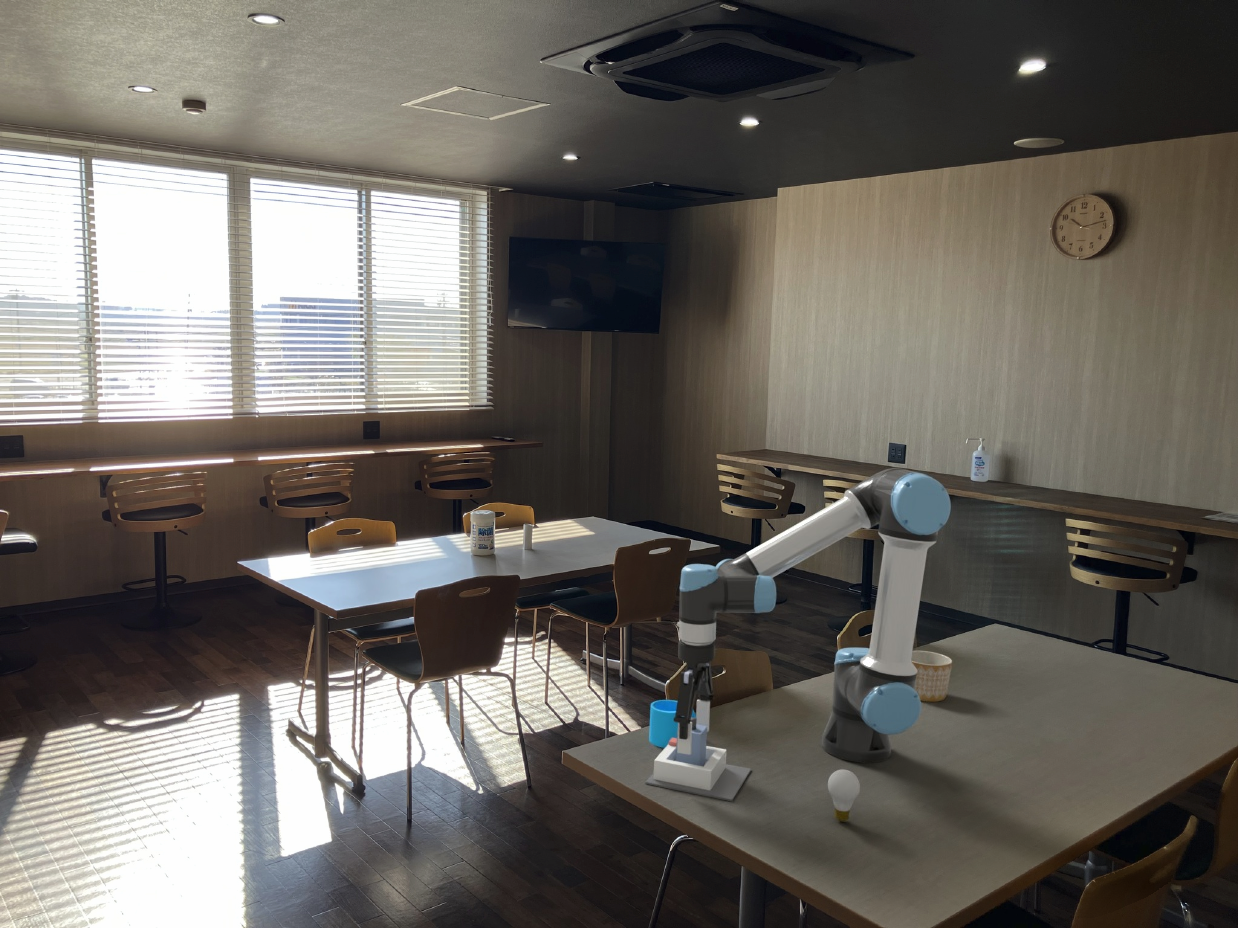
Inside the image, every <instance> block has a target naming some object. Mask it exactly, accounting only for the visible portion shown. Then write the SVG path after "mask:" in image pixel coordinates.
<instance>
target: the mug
mask: <svg viewBox="0 0 1238 928" xmlns="http://www.w3.org/2000/svg"><path fill="white" fill-rule="evenodd" d="M677 701H678V700H672V699H662V700H661V699H659V700H656V701H653V702H651V703H650V710H649V711H650V712H649V713H650V714H649V717H650V718H649V735H648V737H649V738H648V741H649V743H650V744H651V745H653V746H655V747H659V748H663V749H665V748H666V746H667V745H668V744H669V741H670V740H671V738H677V730H678V722H674V718H675V714H676V707H677ZM682 717H684V716H682ZM691 717H693V718H696V712H695V711H694V709H693V712H692V716H691Z"/></svg>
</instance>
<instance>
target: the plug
mask: <svg viewBox="0 0 1238 928" xmlns="http://www.w3.org/2000/svg"><path fill="white" fill-rule="evenodd" d="M691 722H692V743H691V754H690V755H688V754H682V753H677V747H676V761H677V762H682V763H688V764H693V765H698V766H704V764H705V758H706V746H707V737H708V736H707V735H708V732H707V726H704V725H698V724H696V722H697V719H696V718H693V717H691ZM677 743H678V730H677Z"/></svg>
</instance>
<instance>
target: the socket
mask: <svg viewBox="0 0 1238 928" xmlns="http://www.w3.org/2000/svg"><path fill="white" fill-rule="evenodd" d="M676 747H677V738H671V740H670V741H669V744H668V745H667V746H666V748H663V750H662V751H661V752H660V753H659V754H658V755H657V757H656V758H655V759H654V761H653V772H652V774H651V775H650V776H649V777H648V778H647V779H646V781H645V783H644V784H645V785H649V786H653V787H654V786H655V787H660V788H664V789H670V790H673V791H679V792H684V793H688V794H689V793H690V794H695V795H699V796H703V797H707V798H713V799H718V800H722V801H723V800H724V801H728V802H733V801H734V799H735V797H736V796H737V794H738V792H739V791H740V790H741V788H742V785H743V784H744V783H745V781H746V779H747V778H748V777H749V775H750V773H751V770H752V769H751V768H749V767H744V766H739V765H738V766H737V765H733V764H727V749H726V748H720V747H714V746H708V745H706V758H705V764H704V766H698V765H693V764H688V763H682V762H677V761H676Z"/></svg>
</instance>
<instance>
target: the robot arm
mask: <svg viewBox="0 0 1238 928" xmlns="http://www.w3.org/2000/svg"><path fill="white" fill-rule="evenodd" d="M951 507H952V504H951V499H950V496H949V492H948V491H947V489H946V488H945V486H944V485H943V484H942V483H941V482H939V481H938V480H936V479H935V478H933V477H932V476H929V475H928V474H926V473H921V472H917V471H913V470H912V471H911V470H909V469H906V468H903V467H902V468H900V467H892V468H887V469H884V470H882V471H879V472H877V473H874V474H873V475H871V476H870V477H867V478H866V479H864V480H862V481H861V482H859V483H857V484H855V485H854V486H852V487H850V488H848V489H847V490H845V491H844V494H843V496H842V497H841V498H840V499H838V500H836V501H834V502H833V503H832V504H829V505H828V506H826V507H824V508H823V509H821V510H819V511H817V512H816V513H814V514H812V515H811V516H809V517H806V518H804V520H802V521H800V522H797V524H795V525H793V526H791V527H789V528H788V529H786V530H784V531H782V532H781V533H779V534H777V535H775V536H773V537H772V538H770V539H768V540H766V541H765V542H763V543H761V544H759V545H758V546H756V547H754V548H753V549H751V550H749V551H747V552H746V553H743V554H742V555H740V556H738V557H736V558H734V559H733V558H726V559H723V560H721V561H720V562H718V563H717V564H716V566H714V565H711V564H703V563H702V564H701V563H691V564H688V565H685V566H684V567H682V569H681V572H680V573H681V574H680V584H679V588H678V589H679V616H678V617H679V621H677V622H676V627H679V628H678V639H679V641H678V645H677V648H678V649H677V650H678V651H677V656H678V659H679V660H680V661H682V662H684V663H685V664H686V666H685V668H684V671H681V672H680V675H679V676H680V681H679V689H678V695H677V700H676V701H677V707H676V714H675V718H674V722H678V743H677V753H682V754H688V755H690V754H691V743H692V722H691V716H692V712H693V710H694V706H695V702H696V712H695V714H696V719H697V722H696V724H698V725H704V726H707V733H709V732H710V717H711V716H710V714H711V713H710V710H711V709H710V708H711V701H714V700H715V694H714V688H713V687H714V685H713V676H712V668H711V667H712V666H711V663H712V662H713V661H714V660H715V658H716V654H715V653H716V643H715V640H716V639H717V638H716V637H717V636H716V635H717V633H716V632H717V630H716V629H717V613H743V614H744V613H747V614H748V613H749V614H751V613H754V614H760V613H761V614H762V613H770V612H772V611H773V610H774V609H775V607H776V602H777V585H776V582H775V580H774V577H776V576H778V575H779V574H782V573H784V572H785V571H786V570H787V571H788V570H789V569H790V568H792V567H794V566H796V565H798V564H799V563H801V562H802V561H805V560H807V559H808V558H810V557H812V556H813V555H815V554H817V553H819V552H822V550H824V549H826V548H829V546H832V545H833V544H835V543H836V542H838V541H840V540H842V539H844V538H845V537H847V536H850V535H851V534H853V533H854V532H856V531H858V530H859V529H861V528H862V529H863V528H864V529H865V530H866V529H867V530H869V529H871V528H873V527H875V526H877V525H878V535H879V536H880V538H881V539H882V540H883V543H884V545H883V550H882V557H881V558H882V560H881V565H880V573H879V580H878V585H877V586H878V587H877V594H876V599H875V600H876V601H875V608H874V614H873V615H874V616H873V621H872V622H873V623H872V632H871V637H870V643H869V648H868V647H844V648H840V649H838V650H837V652H836V653H835V661H834V664H833V665H834V670H833V671H834V672H833V687H832V688H833V689H832V690H833V691H832V706H831V707H832V709H831V714H830V715H829V719H828V721H827V724H826V726H825V728H824V731H823V733H822V736H821V738H822V739H821V747H822V749H823V750H824V751H825V752H826V753H828V754H830V755H831V756H834V757H836V758H838V759H841V760H845V761H850V762H856V763H879V762H882V761H885V760H888V759H889V758H890V757H891V754H892V741H891V738H890V736H892V735H893V736H894V735H898V734H901V733H904V732H906V731H907V730H908V729H910V728H912V727H913V726H914V725H915V724H916V722H917V721H918V719H919V717H920V715H921V711H922V701H920V698H919V695H918V693H917V692H916V691H915V684H916V677H917V669H916V667H915V666H914V665H913V664H912V662H911V657H912V651H914V643H915V636H916V628H917V621H918V617H919V616H918V615H919V608H920V601H921V597H922V596H921V594H922V587H923V580H924V575H925V574H924V573H925V569H926V560H927V555H928V553H927V552H928V550H929V548H930V547H932V546H933V545H935V544H936V543H937V538H938V533H939V530H941V528H942V527H943V526H945V525H946V523H947V521H948V520H949V517H950V514H951V509H952V508H951ZM696 697H698V699H697V700H696ZM682 716H684V717H682Z"/></svg>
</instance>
